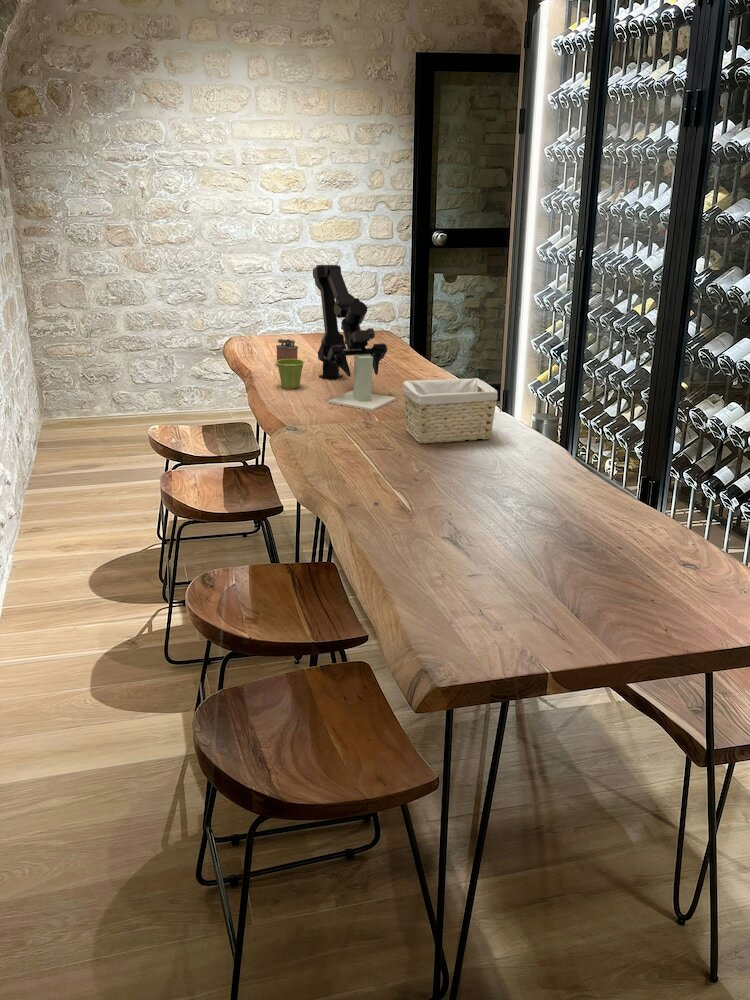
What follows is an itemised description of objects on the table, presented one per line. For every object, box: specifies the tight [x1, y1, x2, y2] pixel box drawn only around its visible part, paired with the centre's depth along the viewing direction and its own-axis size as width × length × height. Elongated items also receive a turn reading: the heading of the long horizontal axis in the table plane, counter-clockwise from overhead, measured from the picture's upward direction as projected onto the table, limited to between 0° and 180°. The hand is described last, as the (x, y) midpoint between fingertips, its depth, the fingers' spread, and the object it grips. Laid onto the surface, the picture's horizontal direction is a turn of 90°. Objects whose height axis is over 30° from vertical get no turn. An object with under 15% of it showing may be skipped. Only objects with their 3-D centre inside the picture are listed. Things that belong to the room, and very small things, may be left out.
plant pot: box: [275, 358, 305, 390], centre depth 292 cm, size 9×9×9 cm
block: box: [353, 354, 374, 401], centre depth 277 cm, size 4×4×14 cm
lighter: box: [275, 338, 299, 367], centre depth 320 cm, size 8×3×10 cm, turn 84°
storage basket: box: [402, 377, 499, 444], centre depth 247 cm, size 24×16×15 cm
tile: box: [327, 389, 397, 412], centre depth 279 cm, size 16×16×1 cm
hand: (363, 375), depth 276 cm, fingers open, 9 cm apart
